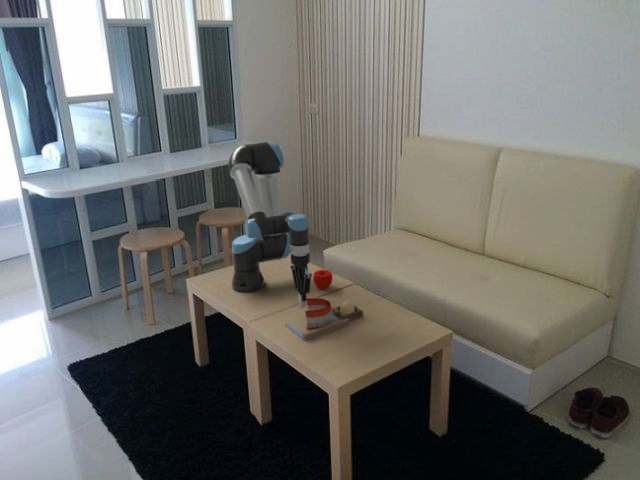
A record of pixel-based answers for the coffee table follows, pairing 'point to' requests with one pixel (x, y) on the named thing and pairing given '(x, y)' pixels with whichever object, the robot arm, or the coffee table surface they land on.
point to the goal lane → (320, 329)
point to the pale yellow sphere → (347, 307)
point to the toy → (318, 313)
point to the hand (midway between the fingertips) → (302, 306)
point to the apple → (322, 279)
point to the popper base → (351, 316)
